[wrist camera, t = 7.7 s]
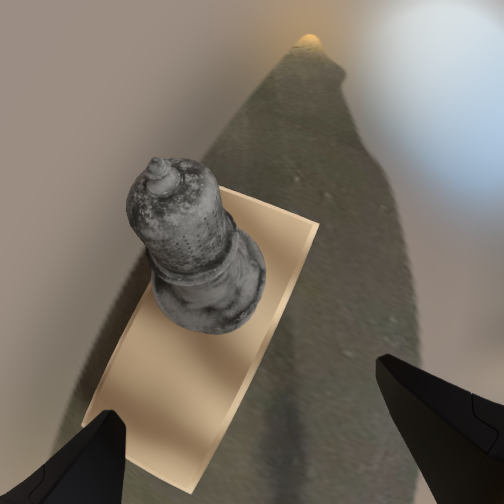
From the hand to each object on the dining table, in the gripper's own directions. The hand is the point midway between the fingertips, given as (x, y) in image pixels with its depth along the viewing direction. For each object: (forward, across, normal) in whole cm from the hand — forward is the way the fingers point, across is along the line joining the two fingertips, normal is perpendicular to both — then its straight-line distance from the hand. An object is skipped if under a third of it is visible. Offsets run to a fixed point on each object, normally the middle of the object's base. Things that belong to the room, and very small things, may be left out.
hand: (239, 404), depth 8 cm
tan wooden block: (+11, +4, +5) cm, 13 cm away
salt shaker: (+10, +1, 0) cm, 10 cm away
